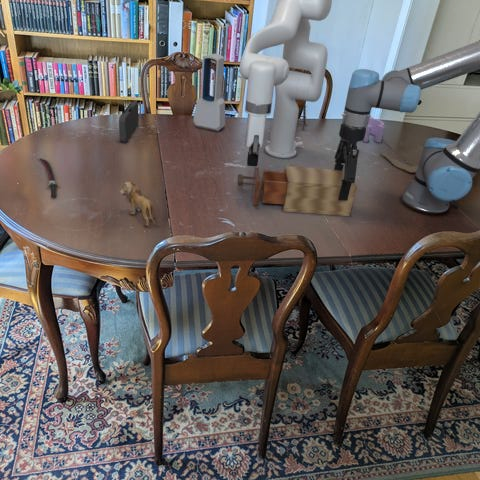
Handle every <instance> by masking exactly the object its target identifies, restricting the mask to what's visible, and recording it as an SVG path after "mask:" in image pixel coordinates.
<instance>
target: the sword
mask: <svg viewBox="0 0 480 480" xmlns="http://www.w3.org/2000/svg"><path fill="white" fill-rule="evenodd" d="M40 161H41V162H42V163H43V165H44V166H45V169H46V173H47V176H48V185H47V188H50V198H56V197H57V189H56V188H57V187H59V185H58V184H57V183H56V180H55V176H54V172H53V169H52V167H51V164H50V163H49V161H48V160H46V159H43V158H40Z"/></svg>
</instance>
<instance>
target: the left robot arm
mask: <svg viewBox="0 0 480 480" xmlns="http://www.w3.org/2000/svg"><path fill="white" fill-rule="evenodd" d="M332 5H333V0H277V1H276V4H275V8H274V10H273V13H272V16H271V19H270V21H269V24H267V25H265V26H264V27H262V28H260V29H259V30H258V31H256V33H254V34H252V36H251V37H250V38H249V39H248V41H247V43H246V44H245V47H244V50H243V53H242V55H241V59H240V63H239V74H240V75H241V77H242V78H243V79H245V80H247V85H246V94H245V95H246V97H245V107H244V112H245V113H246V114H247V118H246V127H245V134H244V142H245V143H244V144H245V147H246V148H247V149H248V152H247V157H246V158H247V159H246V165H247V166H248V167H258V165H259V156H260V154H259V153H260V149H263V145H264V138H265V132H266V122H267V116H270V115H271V113H272V107H273V98H274V107H273V114H272V115H273V116H272V124H271V130H270V138H269V144H266V146H265V147H264V148H265V149H264V151H265V153H266V154H267V155H269V156H272V157H273V158H274V157H275V158H278V159H289V158H293V157H295V156H296V155H297V150H296V148H297V147H302V146H303V145H304V144H303V141H296V140H295V139H296V133H297V127H298V121H297V120H299V119H298V118H299V117H298V116H299V113H300V110H299V109H300V108H299V106H298V105H299V104H298V103H297V100H299V101H303V102H304V101H306V102H310V103H316V102H317V101H319V99H320V98H321V95H322V93H323V86H324V82H325V81H324V80H325V76H326V75H325V74H326V69H327V62H328V53H329V52H328V48H327V46H326V45H324V44H323V43H320V42H314V41H310V35H311V21H316V22H321V21H323V20H324V21H325V19H326V18H327V17H328V16H329V15H330V12H331V9H332ZM310 20H311V21H310ZM281 45H283V49H282V57H279V56H273V55H267V54H261V52H262V51H263V50H266V49H269V48H272V47H277V46H281ZM290 69H294V70H290ZM295 69H301V70H302V71H304V70H306V72H305V73H304V72H302V71H295ZM307 71H308V72H310V73H308V74H307ZM274 91H275V92H274ZM274 93H275V94H274ZM274 96H275V97H274ZM296 99H297V100H296ZM295 100H296V101H295Z"/></svg>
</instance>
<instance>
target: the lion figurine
mask: <svg viewBox="0 0 480 480" xmlns="http://www.w3.org/2000/svg"><path fill="white" fill-rule="evenodd" d="M119 193H120V194H121V196H122V197H124V196H125V198H126V199H127V200H128V202H129V203H130V207H131V211H130V212H129V213H130V215H135V214H136V211H137V212H141V214H142V216H143V218H144V219H145V223H144V225H145V227H149V226H150V221H152V223H153V225H155V226H159V222H156V221H155V219H154V217H153V216H154V215H153V204H152V202H151V200H150V199H148V198H146V197H145V196H144V195H143V194H142V192H141V190H140V187H138V185H136V184H135V183H133V182H132V181H125V182H124V186H122V188H121V189H119ZM136 207H137V208H136ZM148 214H149V216H148Z"/></svg>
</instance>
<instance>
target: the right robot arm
mask: <svg viewBox="0 0 480 480" xmlns="http://www.w3.org/2000/svg"><path fill="white" fill-rule="evenodd" d="M478 70H480V40H477V41H475V42H472V43H470V44H467V45H464V46H462V47H459V48H455V49H454V50H451V51H448V52H445V53H443V54H441V55H438V56H434V57H431V58H430V59H427V60H424V61H422V62H419V63H417V64H414V65H411V66H409V67H406V68H402V69H401V70H397V69H396V70H395V69H394V70H389V71H388V72H386V73H385V74H384V75H383V77H382V78H381V79H380V74H379V72H377V71H376V70H371V69H366V68H359V69H356V70H354V71H353V72H352V74H351V77H350V81H349V85H348V89H347V94H346V99H345V105H344V111H343V112H342V113H341V116H342V119H341V124H340V128H339V131H338V136H339V138H340V140H339V142H338V146H337V148H336V152H335V154H334V163H335V164H334V168H333V170H343V171H344V179H342V180H341V181H342V185H341V189H340V193H339V198H338V199H339V200H346V201H347V200H348V195H349V191H350V187H351V183H354V182H355V183H356V176H357V175H356V174H357V165H358V160H359V155H360V149H358V145H357V144H358V143H359V142H362V141H364V140H363V139H364V137H365V133H366V126H367V125H368V121H369V117H370V115H371V112H372V108H375V109H379V110H380V109H381V110H387V111H392V112H393V111H394V112H399V113H408V114H409V113H410V114H411V113H414V112H415V111H416V110H417V108H418V105H419V102H420V99H421V93H422V92H421V90H425V89H427V88H430V87H433V86H436V85H438V84H442V83H445V82H447V81H450V80H453V79H456V78H458V77H459V78H460V77H461V76H464V75H467V74H470V73H473V72H476V71H478ZM417 165H418V168H417V171H416V172H415V175H414V176H413V177H414V178H413V180H412V181H411V182H410V184H409V185H408V187H407V188H406V189H405V190H404V192H403V194H402V195H401V196H402V197H401V201H402V203H403V205H404V206H405V207H407V208H408V209H410V210H412V211H414V212H417V213H420V214H424V215H428V216H441V215H444V214H446V213H447V212H448V210H449V208H450V206H451V207H455V208H457V209H458V208H459V207H460V206H459V204H457V203H454V201H458V200H460V199H462V198H464V197H465V196H467V194H469V192H470V191H471V189H472V187H473V178H475V176H476V175H477V174H478V173H479V171H480V111H478V113H476V116H475V117H474V118H473V119H472V121H471V122H470V123H469V124H468V125H467V127H466V128H465V129H464V131H463V132H462V133H461V135H460V136H459V138H457V140H452V139H448V138H443V137H430V138H427V140H426V141H425V144H424V146H423V149H422V152H421V156H420V159H419V162H418V164H417Z"/></svg>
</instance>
